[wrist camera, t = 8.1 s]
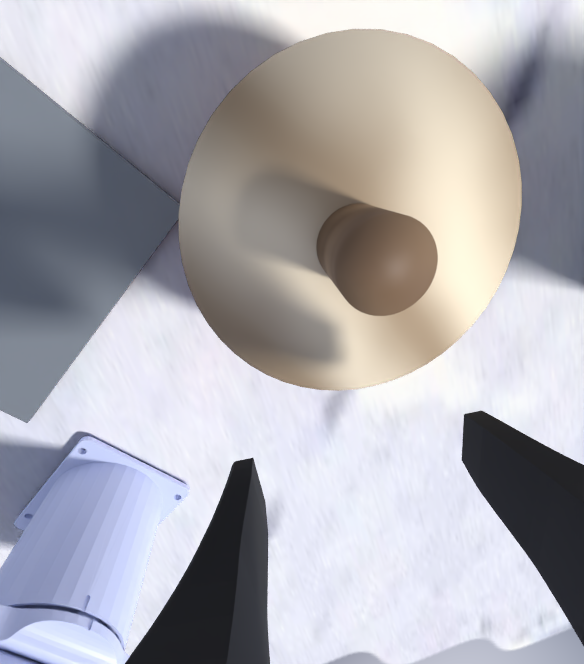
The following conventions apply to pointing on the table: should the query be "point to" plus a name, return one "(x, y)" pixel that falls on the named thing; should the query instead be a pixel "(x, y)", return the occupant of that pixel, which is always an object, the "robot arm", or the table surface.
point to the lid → (350, 209)
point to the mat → (62, 238)
